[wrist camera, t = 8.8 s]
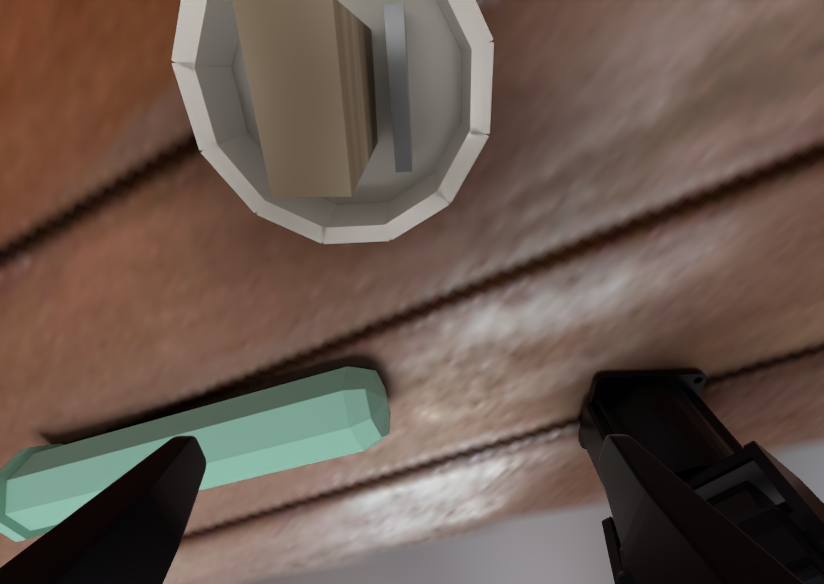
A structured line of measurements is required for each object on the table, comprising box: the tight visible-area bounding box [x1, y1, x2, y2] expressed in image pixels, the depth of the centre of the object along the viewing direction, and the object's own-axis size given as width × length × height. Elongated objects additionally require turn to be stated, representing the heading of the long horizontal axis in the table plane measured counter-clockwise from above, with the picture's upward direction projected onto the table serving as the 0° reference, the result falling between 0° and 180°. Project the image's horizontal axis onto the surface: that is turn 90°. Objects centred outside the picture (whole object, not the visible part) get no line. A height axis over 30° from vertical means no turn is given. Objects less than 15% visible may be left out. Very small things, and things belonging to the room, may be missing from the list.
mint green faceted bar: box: [0, 366, 390, 542], centre depth 24 cm, size 6×6×25 cm
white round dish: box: [171, 0, 494, 244], centre depth 14 cm, size 10×10×3 cm
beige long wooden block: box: [232, 0, 378, 198], centre depth 12 cm, size 2×4×8 cm, turn 1°
